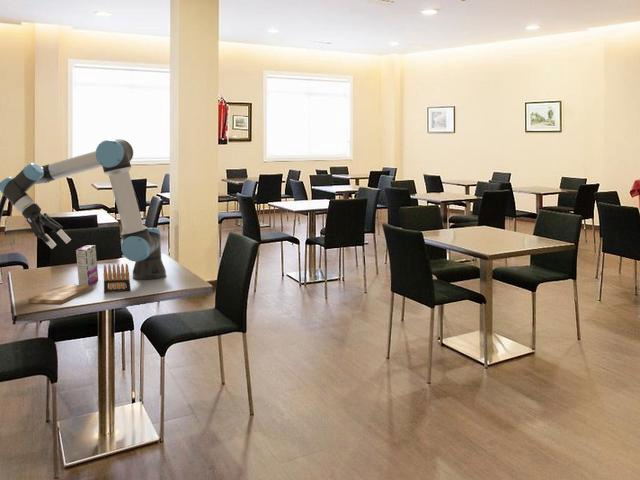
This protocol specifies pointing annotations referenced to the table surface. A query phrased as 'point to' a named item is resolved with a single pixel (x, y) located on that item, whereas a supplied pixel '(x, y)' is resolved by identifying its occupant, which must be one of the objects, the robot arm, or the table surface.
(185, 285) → the table surface
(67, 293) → the oak board
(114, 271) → the ammunition clip
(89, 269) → the candy bar box
